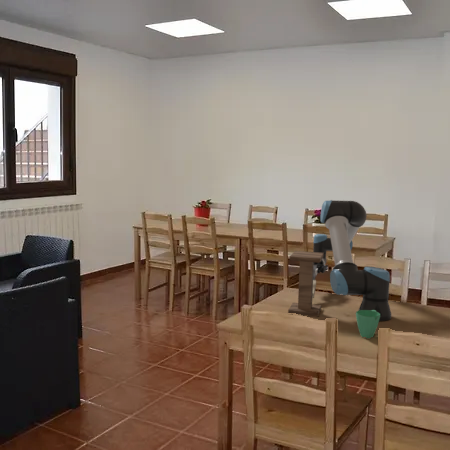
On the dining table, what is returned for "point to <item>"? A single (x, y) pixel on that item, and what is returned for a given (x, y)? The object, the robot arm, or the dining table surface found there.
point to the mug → (367, 322)
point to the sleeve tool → (314, 281)
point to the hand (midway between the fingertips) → (312, 272)
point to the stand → (306, 283)
